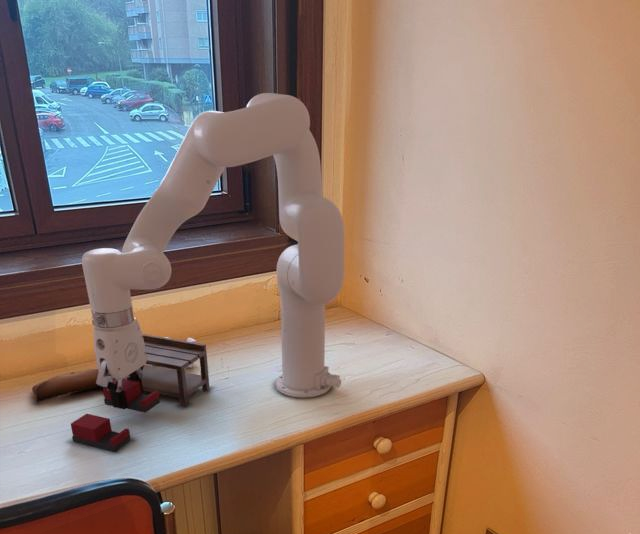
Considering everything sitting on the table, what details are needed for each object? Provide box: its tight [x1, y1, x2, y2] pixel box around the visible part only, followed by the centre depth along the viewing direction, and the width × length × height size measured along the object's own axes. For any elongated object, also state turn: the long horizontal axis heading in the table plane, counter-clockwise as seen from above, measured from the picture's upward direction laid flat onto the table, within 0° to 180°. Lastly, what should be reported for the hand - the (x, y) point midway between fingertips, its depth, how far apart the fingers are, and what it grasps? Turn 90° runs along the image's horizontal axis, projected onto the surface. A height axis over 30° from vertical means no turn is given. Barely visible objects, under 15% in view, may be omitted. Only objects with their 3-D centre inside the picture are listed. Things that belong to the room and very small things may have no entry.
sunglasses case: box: [31, 368, 103, 404], centre depth 143 cm, size 18×7×7 cm
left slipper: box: [70, 413, 132, 453], centre depth 123 cm, size 10×5×4 cm, turn 68°
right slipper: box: [102, 379, 161, 413], centre depth 129 cm, size 10×5×4 cm, turn 68°
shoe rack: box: [113, 333, 211, 408], centre depth 141 cm, size 20×10×11 cm, turn 68°
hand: (128, 400), depth 130 cm, fingers closed on right slipper, 4 cm apart
